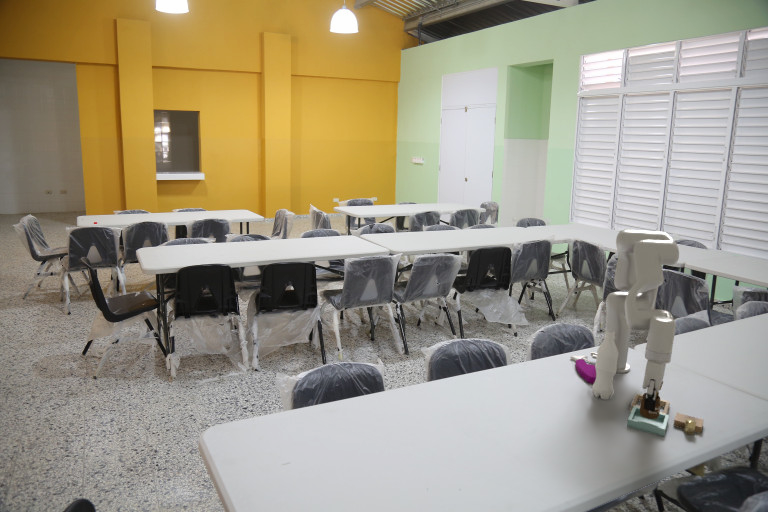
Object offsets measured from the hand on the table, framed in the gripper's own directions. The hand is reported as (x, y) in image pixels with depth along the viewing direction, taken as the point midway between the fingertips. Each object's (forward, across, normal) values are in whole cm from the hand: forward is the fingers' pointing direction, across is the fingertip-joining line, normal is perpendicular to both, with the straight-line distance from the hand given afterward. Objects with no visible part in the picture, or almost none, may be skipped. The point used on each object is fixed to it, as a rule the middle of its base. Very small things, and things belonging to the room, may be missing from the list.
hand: (650, 405), depth 189 cm
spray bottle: (+7, -32, -26) cm, 42 cm away
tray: (+7, 0, 0) cm, 7 cm away
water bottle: (+7, -12, -17) cm, 22 cm away
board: (+7, -7, +11) cm, 15 cm away
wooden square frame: (+7, -12, -1) cm, 14 cm away
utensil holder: (+4, 0, 0) cm, 4 cm away
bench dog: (+7, -2, +12) cm, 14 cm away
